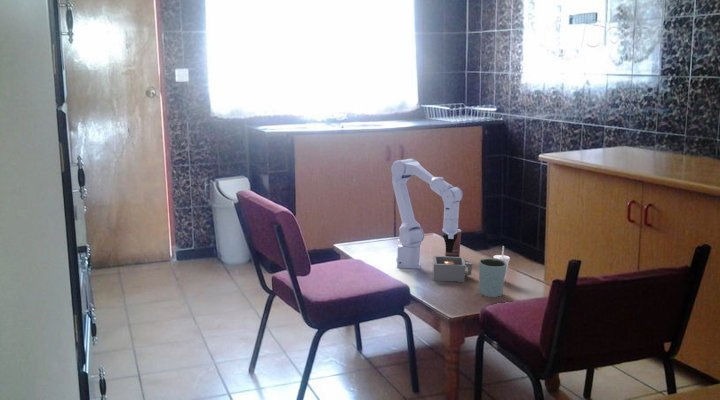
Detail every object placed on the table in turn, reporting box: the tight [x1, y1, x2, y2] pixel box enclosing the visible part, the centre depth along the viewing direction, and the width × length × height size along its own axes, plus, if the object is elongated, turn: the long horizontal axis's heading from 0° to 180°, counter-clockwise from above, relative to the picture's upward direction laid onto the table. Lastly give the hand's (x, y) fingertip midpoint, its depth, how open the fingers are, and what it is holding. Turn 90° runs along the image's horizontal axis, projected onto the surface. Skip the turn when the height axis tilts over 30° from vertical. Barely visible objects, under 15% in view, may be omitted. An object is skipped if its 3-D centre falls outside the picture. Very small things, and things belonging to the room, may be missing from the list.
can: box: [444, 224, 463, 257], centre depth 314 cm, size 6×6×14 cm
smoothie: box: [492, 245, 511, 283], centre depth 283 cm, size 6×6×14 cm
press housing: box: [432, 255, 473, 283], centre depth 287 cm, size 15×12×6 cm
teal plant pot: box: [478, 258, 508, 298], centre depth 268 cm, size 10×10×12 cm
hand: (449, 252), depth 286 cm, fingers closed
